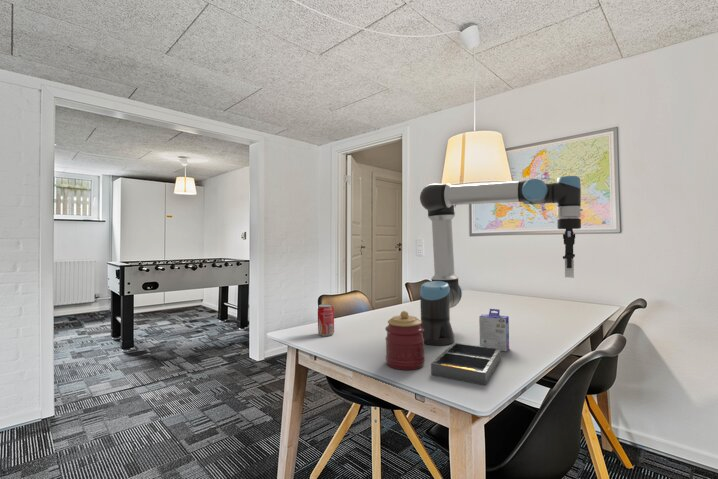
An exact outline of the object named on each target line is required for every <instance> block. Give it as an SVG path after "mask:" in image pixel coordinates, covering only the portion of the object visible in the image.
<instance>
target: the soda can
mask: <svg viewBox="0 0 718 479" xmlns="http://www.w3.org/2000/svg"><path fill="white" fill-rule="evenodd" d="M334 333H335V311H334V307H333V304H331V303H323V304H321V303H320V304H319V305H318V307H317V334H318V335H319V336H320V335H321V336H320V337H330V335H331V336H333V335H334Z"/></svg>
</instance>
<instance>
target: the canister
mask: <svg viewBox="0 0 718 479" xmlns="http://www.w3.org/2000/svg"><path fill="white" fill-rule="evenodd" d="M387 323H388V325H387V326H386V327H385V332H386V337H385V361H386V366H389V367H391V368H393V369H395V370H402V371H411V370H416V369H420V368H423V367H424V365H425V361H426V360H425V359H426V358H425V344H424V337H423V331H424V328H423V327H422V326H421V325H420V324H421V323H422V322H421V319H419V318H418V317H417V316H414V315H409V313H408V312H407V311H406V310H402V311H401V312H400V315H394V316H392V317H391V318H389V319H388V320H387Z"/></svg>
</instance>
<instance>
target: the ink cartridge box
mask: <svg viewBox="0 0 718 479" xmlns="http://www.w3.org/2000/svg"><path fill="white" fill-rule="evenodd" d="M478 321H479V324H478V325H479V346H484V347H491V348H498V349H501V352H507V351H508V350H509V349H510V322H509V321H510V318H509V315H500V309H497V308H496V309H495V308H489V312H488V314H481V315H479V320H478Z"/></svg>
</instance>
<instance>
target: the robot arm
mask: <svg viewBox="0 0 718 479" xmlns="http://www.w3.org/2000/svg"><path fill="white" fill-rule="evenodd" d="M581 198H582V187H581V178H580V177H579V176H578V175H566V176H560V177H558V178H557V180H556V182H554V183H553V182H552V183H545V181H544V180H542V179H539V178H531V179H528V180H521V181H519V180H518V181H504V182H503V181H502V182H490V183H477V184H476V183H475V184H462V185H451V184H450V183H431V184H428V185H426V186H425V187H423V189H422V190H421V192H420V195H419V201H420V204H421V206H422V207H423V208H424V209H425V210H427V217H428V219H429V220H430V221H431V230H432V232H431V234H432V248H433V249H432V250H433V270H434V275H433V276H432V277H431V281H427V282H426V281H425V282H424V283H422V284H420V285H421V286H420V292H419V296H420V320H421V322H422V323H421V324H420V325H421V326H422V327H423V328H424V331H423V337H424V345H430V346H431V345H432V346H446V345H452V344H453V343H455V338H456V337H455V333H454V330H453V327H452V323H451V318H450V316H451V314H450V311H451V309H452V308H454V307H456V306H457V305H458V304H459V303H460V302H461V299H462V296H463V291H462V288H461V286H460V285H459V277H458V276H457V275H456V273H455V262H454V261H455V260H454V258H455V257H454V243H453V241H454V240H453V222H452V220H453V219H454V218H455V216H456V214H455V213H456V206H458V205H461V206H462V205H480V204H497V203H498V204H499V203H500V204H501V203H503V204H504V203H505V204H506V203H520V202H521V203H523V204H524V205H544V204H556V206H557V207H556V209H557V210H556V215H557V216H556V217H557V218H558V219H557V225H556V226H557V229H558V230H565V231H564V233H563V234H562V239H563V245H565V246H564V250H565V251H564V255H563V256H562V259H563V260H564V278H571V279H573V278H574V279H575V272H574V270H575V267H574V265H575V264H574V263H575V260H574V258H575V257H576V254H575V253H574V245H575V243H576V242H575V241H576V240H575V239H576V233H574V230H577V229H578V230H580V229H581V228H582V220H581V218H580V217H581V216H582V214H581V212H583V208H582V207H581V206H582V205H581V204H582V203H581V200H582V199H581Z"/></svg>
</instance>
